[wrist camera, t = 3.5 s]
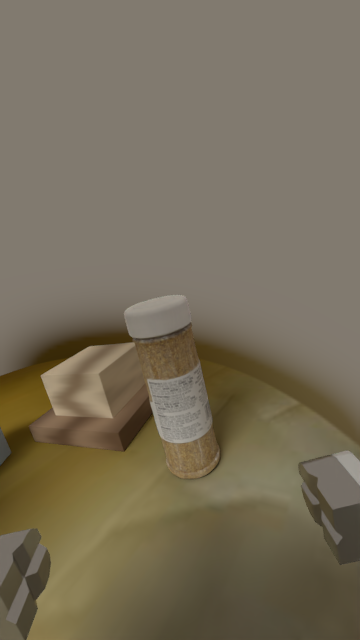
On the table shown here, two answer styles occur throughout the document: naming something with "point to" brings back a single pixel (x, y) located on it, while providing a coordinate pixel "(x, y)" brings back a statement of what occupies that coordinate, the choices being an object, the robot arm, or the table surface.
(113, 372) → the block stand
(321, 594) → the table surface
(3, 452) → the block
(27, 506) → the table surface
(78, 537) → the table surface
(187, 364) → the spice jar
